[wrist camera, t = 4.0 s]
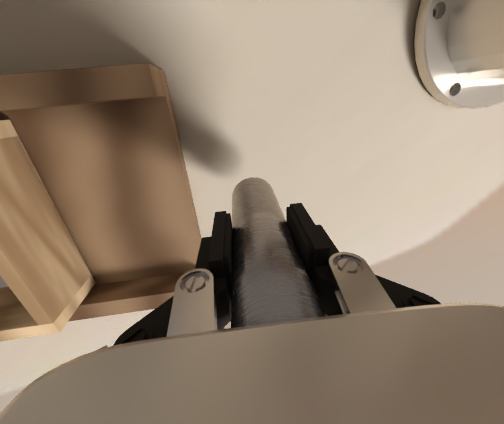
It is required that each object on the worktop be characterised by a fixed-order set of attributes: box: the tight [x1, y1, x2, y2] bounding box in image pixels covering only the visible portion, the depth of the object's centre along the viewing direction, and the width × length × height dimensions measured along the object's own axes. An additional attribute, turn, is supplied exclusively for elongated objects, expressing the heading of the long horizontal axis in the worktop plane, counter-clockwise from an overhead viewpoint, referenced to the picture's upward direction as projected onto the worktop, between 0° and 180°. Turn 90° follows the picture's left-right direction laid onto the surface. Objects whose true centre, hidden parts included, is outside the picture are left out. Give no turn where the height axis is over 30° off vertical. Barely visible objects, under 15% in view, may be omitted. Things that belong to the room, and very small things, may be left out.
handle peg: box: [231, 178, 326, 328], centre depth 10 cm, size 3×3×13 cm
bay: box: [0, 63, 201, 321], centre depth 17 cm, size 21×18×4 cm
